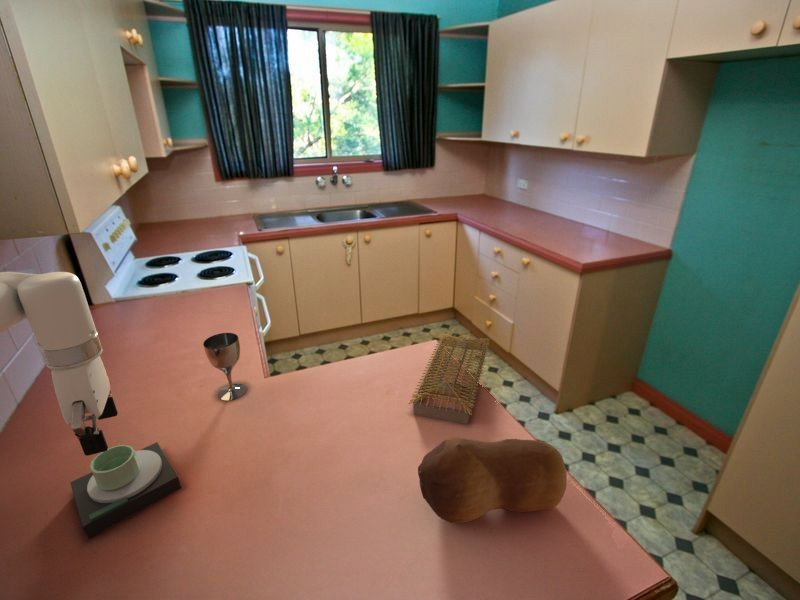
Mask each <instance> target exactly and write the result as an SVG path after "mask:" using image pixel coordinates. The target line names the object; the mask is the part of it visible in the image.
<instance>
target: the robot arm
mask: <svg viewBox="0 0 800 600" xmlns="http://www.w3.org/2000/svg"><path fill="white" fill-rule="evenodd" d="M88 303H89V302H88V301H87V297H86V294H85V291H84V289H83V286H82V282H81V281H80V279H79V277H78V276H77V275H76V274H75V273H72V272H68V271H51V272H44V273H28V272H27V273H26V272H19V271H1V272H0V335H1V334H3V333H4V332H6V331H7V330H8V329H10V328H11V327H13V326H14V325H16V324H18V323H20V322H22V321H24V320H26V319H27V320H28V324H29V326H30V328H31V331H32V333H33V337H34V339H35V341H36V343H37V346H38V348H39V351H40V354H41V356H42V359H43V361H44V364H45V366H46V368H48V369H50V370H51V371H50V372H51V373H50V374H51V380H52V385H53V388H54V392H55V396H56V399H57V402H58V406H59V409H60V411H61V415H62V417H63V420H64V423H65V424H67V425H71V427H70V428H71V431H73V432H74V436H75V437H76V438H77V440H78V441H79V444H80V446H81V448H82V451H83V454H84V456H88V457H89V456H92V455H96V454H97V455H98V454H100V453H101V452H105V451H107V449H109V446H108V443H107V439H106V438H105V435H104V434H105V433H104V432H103V430H102V429H100V425H99V421H101V420H105V419H110V418H114V417H117V416H118V413H119V412H118V408H117V406H116V402H115V400H114V396H112V390H111V383H110V379H109V375H108V373H107V371H106V368H105V365H104V363H103V360H102V358H101V355H102V354H103V352H104V349H103V346H102V343H101V340H100V337H99V334H98V331H97V328H96V325H95V321H94V318H93V315H92V312H91V308H90V307H89V304H88ZM89 413H90V414H91V415H86V414H89ZM89 421H91V425H92V426H90V425H88V426H87V424H86V422H89Z"/></svg>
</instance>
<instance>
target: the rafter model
mask: <svg viewBox="0 0 800 600" xmlns="http://www.w3.org/2000/svg"><path fill="white" fill-rule="evenodd" d="M461 336H462V335H459V336H457V334H454V335H451V333H450V334H448V333H444V332H441V334H440V336H439V339H438V340H437V343H436V344H435V345H436V346H434V348H433V351H432V353H431V355H430V359H429V361H427V364H426V366H425V369H424V370H423V371H424V372H422V375H421V376H420V377H421V378H419V380H420V381H419V382H417V383H418V384H416V387H415V388H414V389H415V391H413V393H414V394H412V396H411V398H412V399H409V402H408V405H410V404H412V406H413V407H412V409H413V410H412V411H413V413H412V414H413V415H415V416H416V415H417V416H422V417H427V418H428V417H429V418H432V419H438V420H444V421H449V422H455V423H461V424H466V425H468V424H469V420H470V417H471V416H472V413H473V408H474V407H475V404H474V403H476V401H475V400H477V398H476V397H477V393H478V391H477V390H479V386H480V385H479V384H480V380H481V378H480V377H482V375H481V374H483V372H482V371H484V370H483V368H484V366H485V362H486V361H485V360H486V358H487V354H488V350H489V346H490V342H491V338H486V337H485V338H482V337H480V338H477V336H475V337H474V338H472V336H469V337H467V335H464V337H461ZM444 360H445V361H444ZM477 382H478V383H477ZM441 394H442V395H441ZM445 395H446V396H445ZM425 399H427V401H426V402H427V403H424V402H423V400H425ZM430 400H433V404H431V403H429V402H430ZM436 401H440V403H439V405H436ZM443 402H447V404H446V406H442V404H443ZM449 403H453V407H448V406H449ZM456 404H458V405H460V408H459V409H458V408H455V407H456ZM462 408H463V409H462Z"/></svg>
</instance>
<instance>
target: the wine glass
mask: <svg viewBox="0 0 800 600" xmlns="http://www.w3.org/2000/svg"><path fill="white" fill-rule="evenodd" d="M202 345H203V346H202V347H203V350H204V353H205V356H206V358H207V360H208V362H209V363H210V365H211V366H212V367H214V368H215V369H217V370H219V371H221V372H222V373H224V375H225V377H226V379H227V382H228V385H225V386H224V387H222V388H221V389H220V390H219V391H218V392H217V398H218V399H219V400H221V401H226V402H227V401H233V400H237V399H239V398H241V397H243V396H244V395H246V393H247V391H248V387H247V386H246V385H245V384H243V383H233V379H232V371H233V369H234V367H235V366H236V364H237V363H238V362H239V360H240V356H241V345H240V338H239V335H237V334H236V333H233V332H221V333H217V334H214V335H211V336H209V337H207V338H206V339H205V340H204V341H203V344H202Z"/></svg>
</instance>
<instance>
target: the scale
mask: <svg viewBox="0 0 800 600" xmlns="http://www.w3.org/2000/svg"><path fill="white" fill-rule="evenodd" d="M135 453H136V456H137V459H138V461H139V464H140V471H139V473H138V474H137V476H136V477H135V478H134V479H133V480H132V481H130V482H129V483H128V484H126V485H124V486H122V487H120V488H116V489H113V490H103V489H100V488H99V487H98V485H97V483H96V481H95V478H94V476H93V474H92V471H91V472H89V473H87V474H84V475H82V476H80V477H79V478H76V479H74V480H72V481H70V482H69V483H70V488H71V491H72V494H73V497H74V501H75V504H76V508H77V512H78V515H79V519H80V521H81V524H82V528H83V530H84V532H85V535H86V536H87V539H88V540H89V539H91V538H93V537H95V536H97V535H99V534H101V533H103V532H104V531H106V530H108V529H110V528H111V527H113V526H115V525H117V524H119V523H121V522H123V521H125V520H126V519H128V518H130V517H132V516H133V515H135V514H137V513H139V512H141V511H143V510H144V509H147V508H148V507H150V506H152V505H154V504H155V503H158V502H159V501H161V500H163V499H165V498H166V497H168V496H170V495H172V494H175V492H178V491H180V490H181V489H182V485H181V481H180V478H179V476H178V474H177V472H176V471H175V469H174V467H173V466H172V464H171V462H170V461H169V459H168V458H167V455H166V454H165V452H164V451H163V448H162V447H161V445H160V444H159V442H158V441H156V442H154V443H152V444H149V445H147V446H145V447H143V448H141V449H139V450H135Z"/></svg>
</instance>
